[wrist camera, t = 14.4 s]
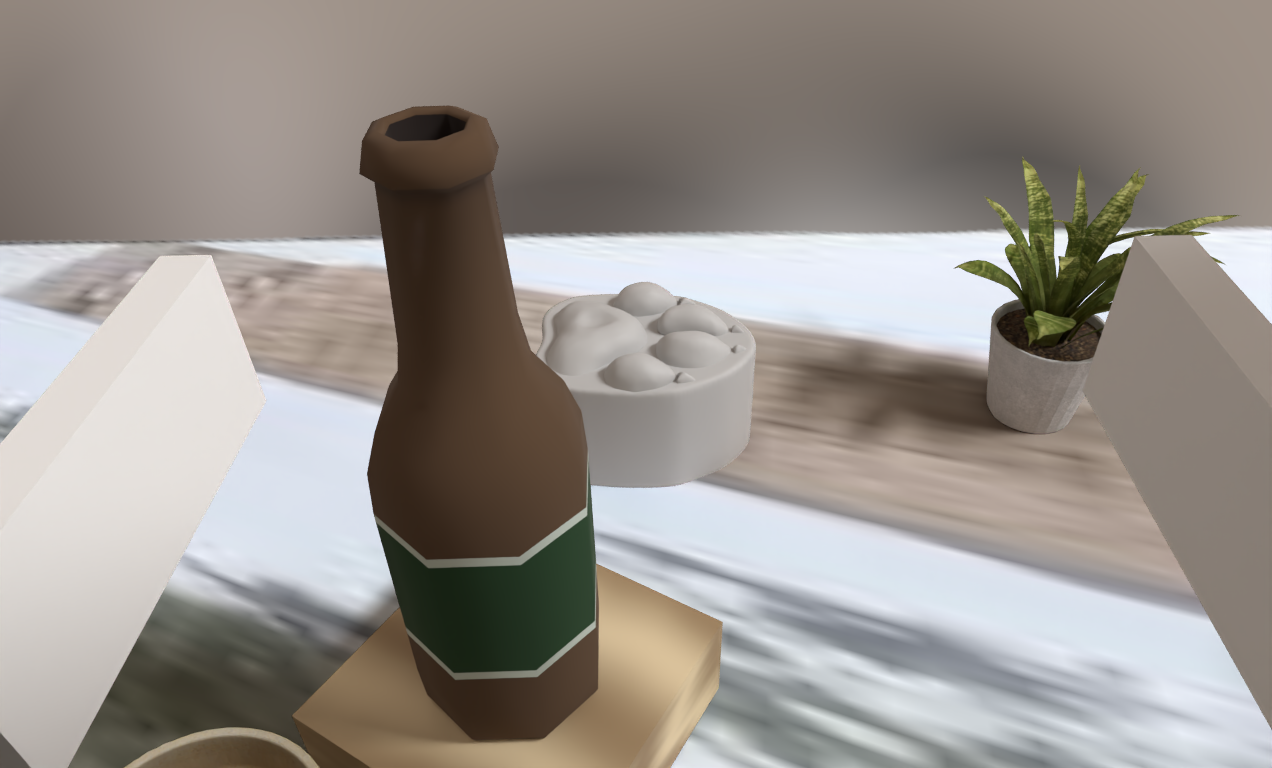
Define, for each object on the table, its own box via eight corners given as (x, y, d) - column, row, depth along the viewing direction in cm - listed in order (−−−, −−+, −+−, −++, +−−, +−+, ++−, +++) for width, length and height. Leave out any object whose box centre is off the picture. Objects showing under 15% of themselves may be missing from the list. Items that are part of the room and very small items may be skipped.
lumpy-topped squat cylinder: (556, 380, 63) (546, 271, 58) (745, 383, 62) (753, 273, 57) (535, 486, 55) (521, 370, 49) (753, 490, 54) (763, 374, 49)
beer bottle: (387, 715, 37) (203, 162, 22) (480, 575, 43) (381, 60, 28) (561, 779, 35) (483, 209, 20) (634, 622, 41) (616, 88, 26)
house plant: (1151, 529, 51) (1270, 277, 41) (901, 461, 56) (953, 220, 46) (1156, 385, 61) (1253, 154, 51) (944, 337, 66) (995, 118, 56)
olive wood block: (502, 580, 49) (490, 514, 46) (718, 687, 44) (722, 622, 41) (320, 779, 40) (291, 715, 37) (562, 945, 35) (552, 886, 32)
